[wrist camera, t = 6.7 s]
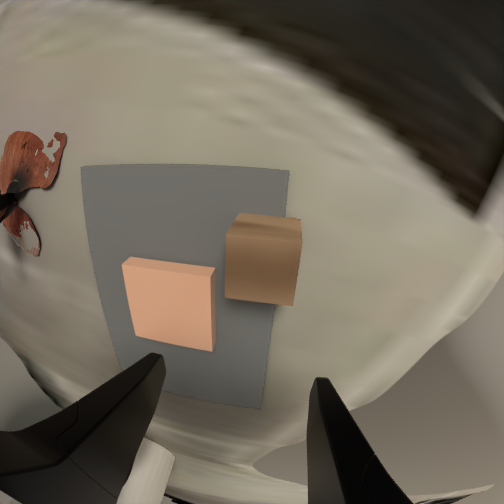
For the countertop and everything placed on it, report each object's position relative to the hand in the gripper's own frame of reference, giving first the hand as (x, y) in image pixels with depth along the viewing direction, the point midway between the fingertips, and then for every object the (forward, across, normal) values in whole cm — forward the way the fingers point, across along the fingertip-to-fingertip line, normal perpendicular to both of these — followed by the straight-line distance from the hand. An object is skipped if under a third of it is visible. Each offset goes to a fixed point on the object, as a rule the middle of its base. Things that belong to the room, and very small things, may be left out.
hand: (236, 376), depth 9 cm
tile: (+10, +7, +9) cm, 16 cm away
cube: (+12, 0, 0) cm, 12 cm away
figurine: (+12, +24, -3) cm, 27 cm away
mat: (+12, +7, +7) cm, 16 cm away
